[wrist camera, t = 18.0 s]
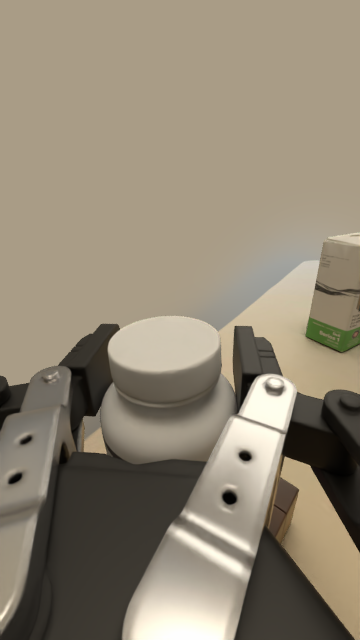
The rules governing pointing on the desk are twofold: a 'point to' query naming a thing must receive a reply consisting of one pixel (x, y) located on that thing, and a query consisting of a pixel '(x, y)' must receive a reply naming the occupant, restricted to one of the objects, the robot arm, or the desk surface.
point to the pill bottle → (165, 391)
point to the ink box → (337, 294)
